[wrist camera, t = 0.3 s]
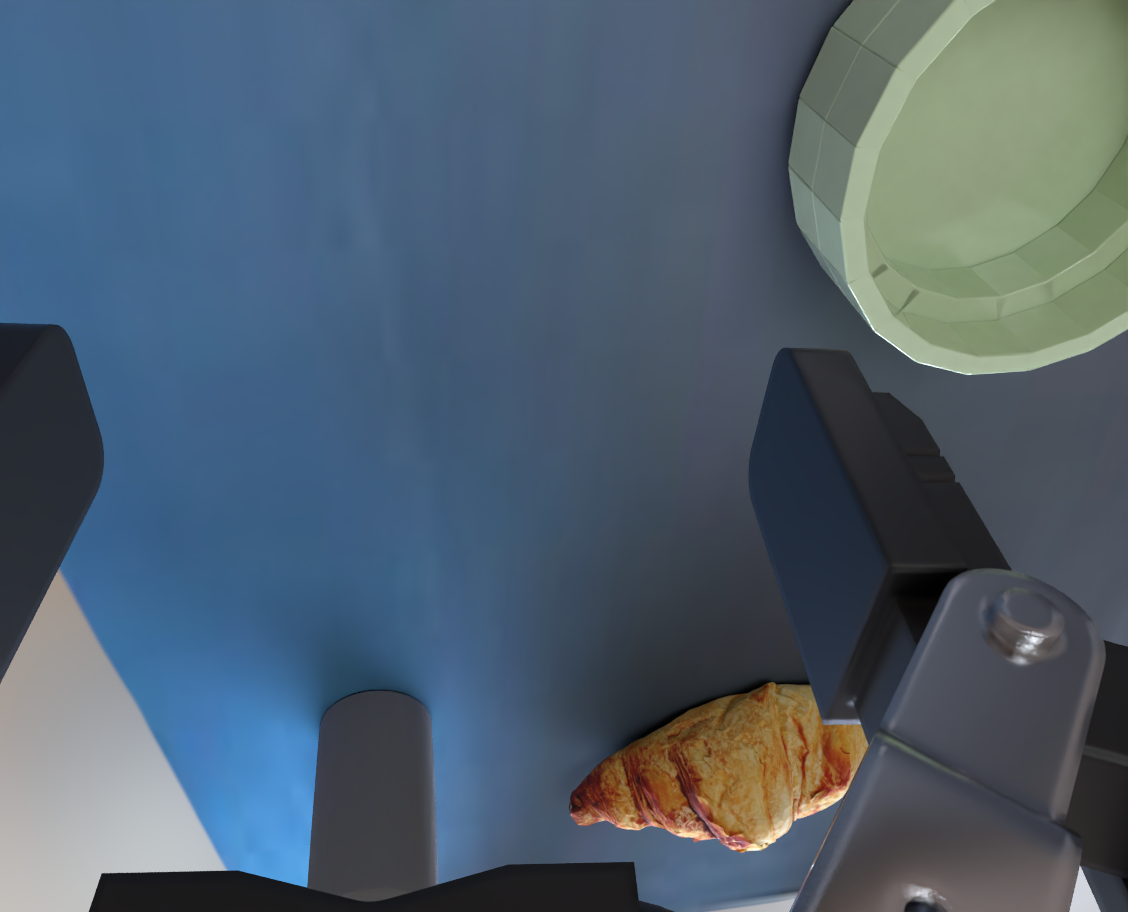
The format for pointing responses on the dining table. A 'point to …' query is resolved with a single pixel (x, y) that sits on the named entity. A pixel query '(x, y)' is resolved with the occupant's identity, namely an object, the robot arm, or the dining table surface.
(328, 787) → the bottle
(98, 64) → the dining table surface
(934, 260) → the bowl
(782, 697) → the croissant
